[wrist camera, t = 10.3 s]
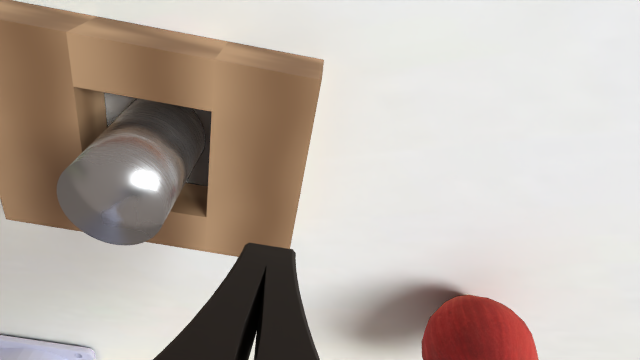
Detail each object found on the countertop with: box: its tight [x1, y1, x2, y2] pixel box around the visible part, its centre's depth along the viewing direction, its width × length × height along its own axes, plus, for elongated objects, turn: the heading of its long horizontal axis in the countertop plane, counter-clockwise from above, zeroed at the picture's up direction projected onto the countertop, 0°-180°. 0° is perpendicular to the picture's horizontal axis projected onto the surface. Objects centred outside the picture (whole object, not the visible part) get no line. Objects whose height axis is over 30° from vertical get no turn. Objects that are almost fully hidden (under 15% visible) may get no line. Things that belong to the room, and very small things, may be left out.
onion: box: [422, 295, 538, 360], centre depth 24 cm, size 6×6×8 cm
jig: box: [0, 0, 324, 257], centre depth 21 cm, size 14×10×2 cm
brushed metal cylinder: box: [57, 99, 205, 245], centre depth 19 cm, size 4×4×6 cm
